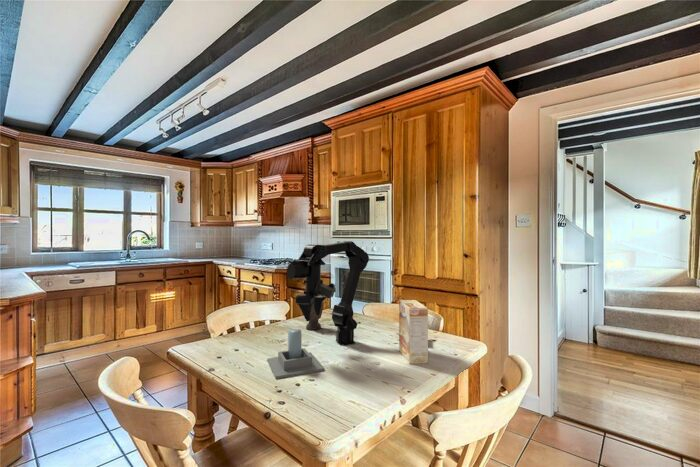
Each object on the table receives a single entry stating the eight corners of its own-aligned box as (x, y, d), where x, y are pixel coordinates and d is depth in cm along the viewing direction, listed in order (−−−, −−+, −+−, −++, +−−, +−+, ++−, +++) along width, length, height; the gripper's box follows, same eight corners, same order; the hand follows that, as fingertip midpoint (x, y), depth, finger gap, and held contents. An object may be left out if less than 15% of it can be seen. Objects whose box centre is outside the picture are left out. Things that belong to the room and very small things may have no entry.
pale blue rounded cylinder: (299, 359, 113) (299, 328, 114) (303, 364, 109) (302, 331, 109) (287, 361, 112) (286, 329, 112) (289, 366, 108) (289, 333, 108)
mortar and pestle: (331, 327, 158) (331, 286, 158) (324, 332, 149) (324, 289, 150) (309, 325, 161) (309, 285, 161) (301, 330, 153) (302, 287, 153)
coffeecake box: (398, 349, 127) (398, 299, 127) (416, 348, 128) (416, 299, 128) (408, 364, 112) (408, 308, 112) (428, 363, 113) (428, 307, 113)
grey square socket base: (310, 354, 121) (310, 344, 121) (324, 370, 106) (324, 359, 106) (267, 360, 115) (267, 350, 115) (275, 379, 100) (275, 366, 100)
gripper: (323, 281, 112) (323, 326, 112) (341, 275, 130) (340, 314, 130) (294, 279, 116) (294, 323, 115) (315, 274, 133) (315, 312, 133)
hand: (313, 318), depth 123 cm, fingers open, 9 cm apart
